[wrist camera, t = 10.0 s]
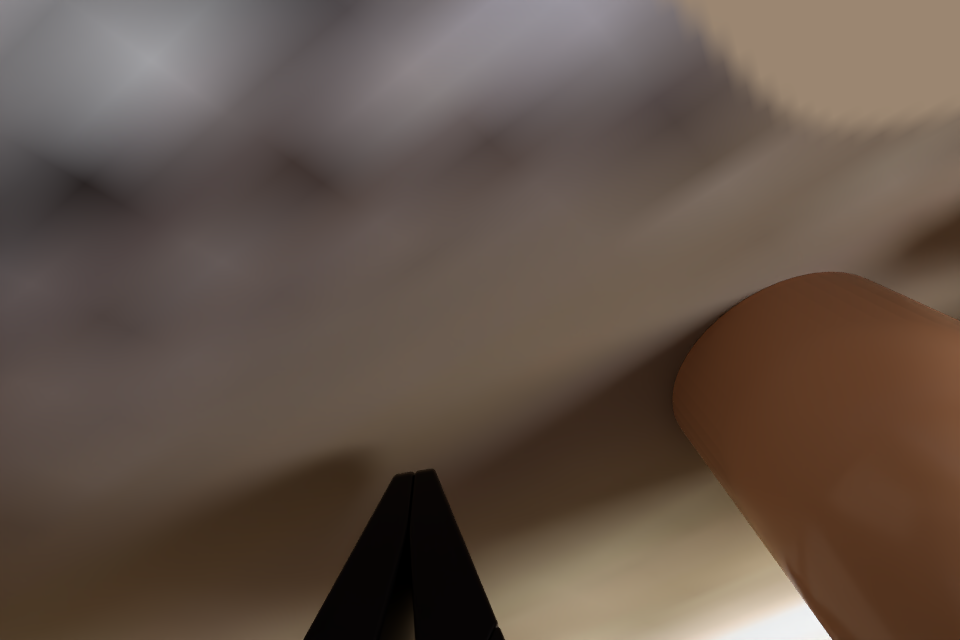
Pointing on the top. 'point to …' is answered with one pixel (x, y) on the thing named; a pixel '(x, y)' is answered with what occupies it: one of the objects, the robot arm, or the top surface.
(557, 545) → the top surface
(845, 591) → the terracotta jar
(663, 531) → the top surface
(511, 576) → the top surface
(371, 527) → the robot arm
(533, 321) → the top surface
